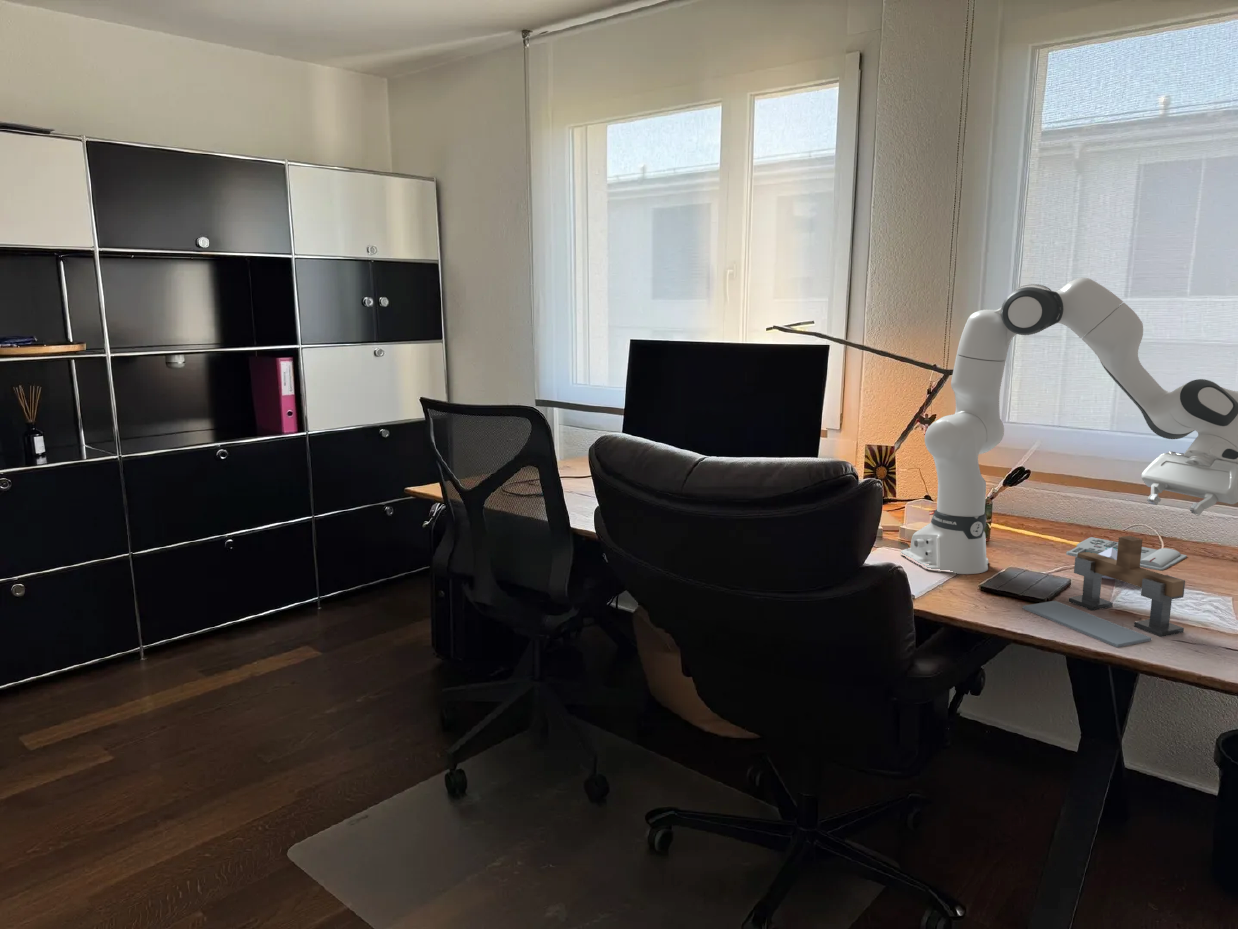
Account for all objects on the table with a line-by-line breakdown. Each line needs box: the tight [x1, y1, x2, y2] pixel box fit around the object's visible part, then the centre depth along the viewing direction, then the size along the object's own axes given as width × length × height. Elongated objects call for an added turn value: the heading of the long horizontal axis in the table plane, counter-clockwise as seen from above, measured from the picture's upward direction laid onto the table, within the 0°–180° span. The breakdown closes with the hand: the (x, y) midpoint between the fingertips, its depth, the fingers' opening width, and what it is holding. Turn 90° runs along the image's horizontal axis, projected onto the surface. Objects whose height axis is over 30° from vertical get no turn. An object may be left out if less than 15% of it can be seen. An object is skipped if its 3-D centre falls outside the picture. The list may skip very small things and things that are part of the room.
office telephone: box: [1066, 536, 1188, 571], centre depth 220 cm, size 23×3×20 cm
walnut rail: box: [1077, 535, 1184, 597], centre depth 176 cm, size 22×3×9 cm, turn 20°
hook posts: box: [1068, 554, 1186, 638], centre depth 177 cm, size 22×7×10 cm, turn 20°
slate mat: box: [1022, 600, 1152, 648], centre depth 174 cm, size 23×9×1 cm, turn 20°
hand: (1172, 507), depth 178 cm, fingers open, 8 cm apart
